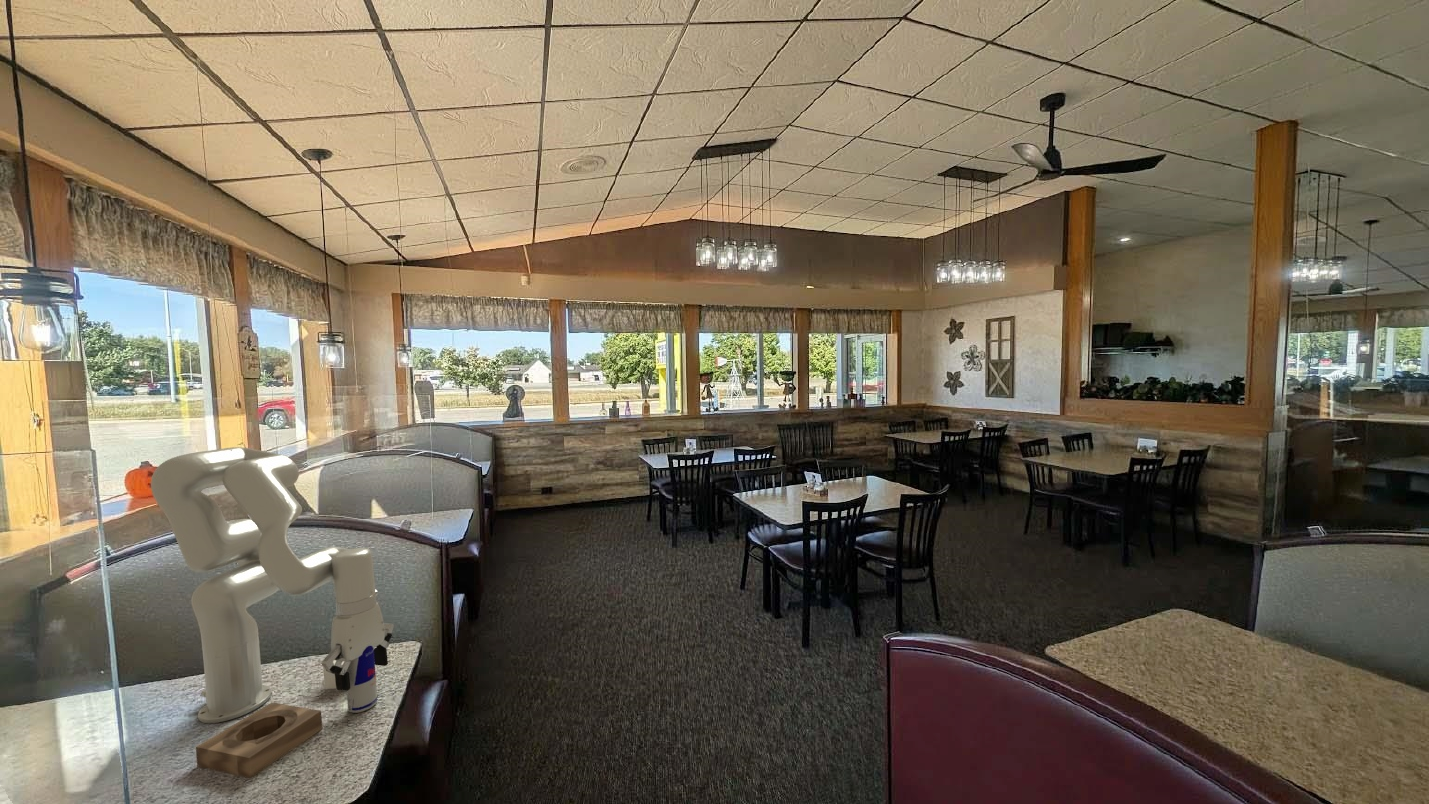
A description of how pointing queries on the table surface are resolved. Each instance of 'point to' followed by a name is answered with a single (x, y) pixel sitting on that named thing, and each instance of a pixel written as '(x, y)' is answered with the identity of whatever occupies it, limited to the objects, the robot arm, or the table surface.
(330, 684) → the white cube
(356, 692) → the beverage can
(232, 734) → the holder
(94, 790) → the table surface
